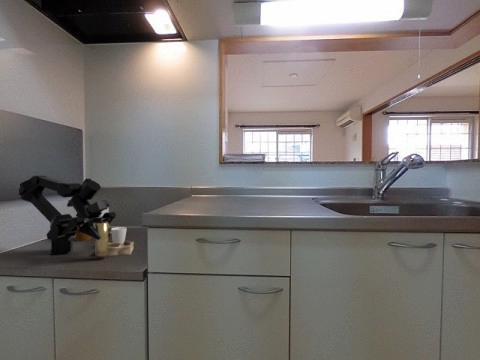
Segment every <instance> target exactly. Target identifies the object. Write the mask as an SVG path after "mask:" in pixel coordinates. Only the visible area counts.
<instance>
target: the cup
mask: <svg viewBox="0 0 480 360" xmlns="http://www.w3.org/2000/svg"><path fill="white" fill-rule="evenodd" d="M127 230H128V229H127V227H125V226H116V227H112V228H111V229H110V234H111V238H112V239H111V240H112V243H116V242H124V241H126V234H127Z"/></svg>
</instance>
